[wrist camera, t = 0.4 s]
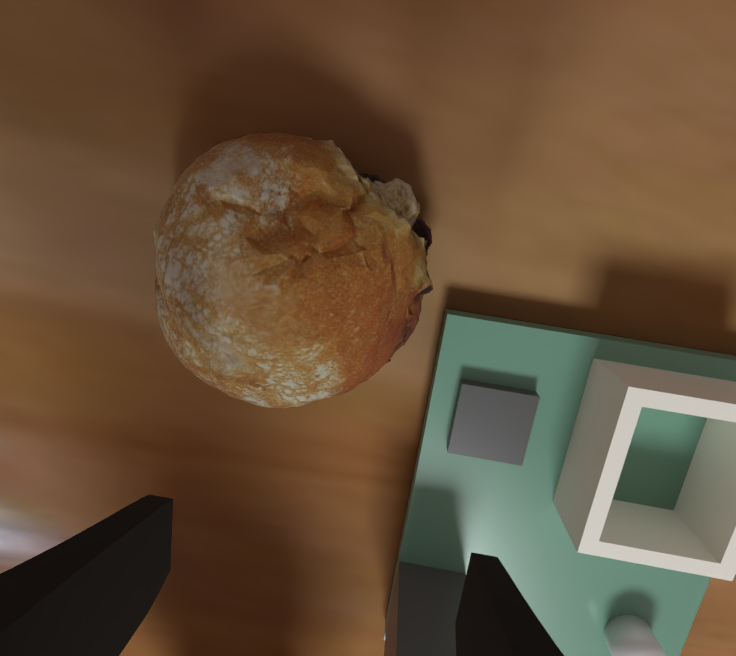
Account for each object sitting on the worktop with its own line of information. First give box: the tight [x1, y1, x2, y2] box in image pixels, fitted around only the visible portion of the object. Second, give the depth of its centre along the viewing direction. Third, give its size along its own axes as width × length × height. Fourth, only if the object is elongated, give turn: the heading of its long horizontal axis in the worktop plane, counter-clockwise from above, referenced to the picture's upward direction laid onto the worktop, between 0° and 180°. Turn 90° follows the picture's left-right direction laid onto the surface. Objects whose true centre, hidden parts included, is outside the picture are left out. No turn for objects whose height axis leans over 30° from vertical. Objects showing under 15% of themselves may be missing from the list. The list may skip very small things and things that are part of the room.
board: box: [384, 309, 736, 656], centre depth 19 cm, size 16×13×2 cm
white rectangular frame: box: [553, 358, 736, 581], centre depth 17 cm, size 6×5×3 cm
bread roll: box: [153, 133, 433, 409], centre depth 17 cm, size 10×10×8 cm
